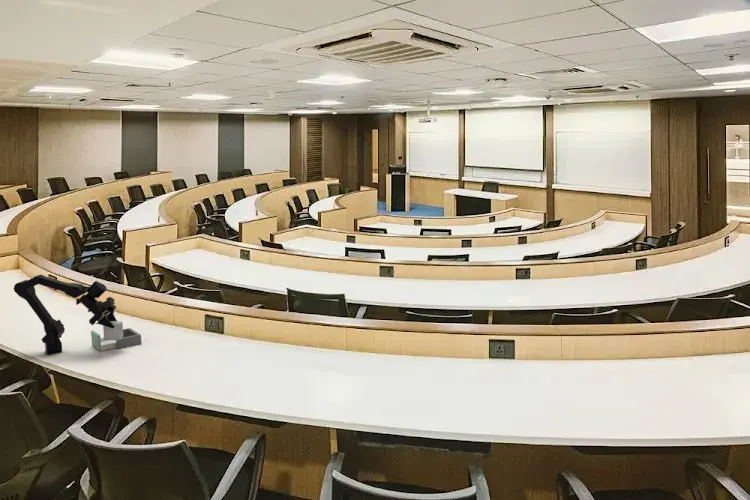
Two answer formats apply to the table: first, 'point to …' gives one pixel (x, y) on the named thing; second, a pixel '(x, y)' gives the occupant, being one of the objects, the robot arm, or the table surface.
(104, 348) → the tray
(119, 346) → the dock
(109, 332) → the medicine box
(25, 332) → the table surface
